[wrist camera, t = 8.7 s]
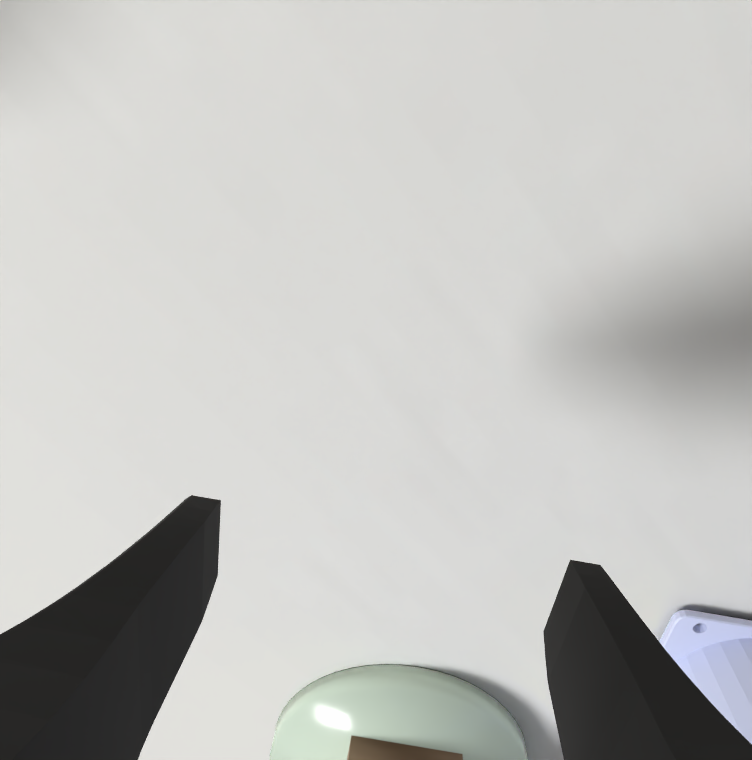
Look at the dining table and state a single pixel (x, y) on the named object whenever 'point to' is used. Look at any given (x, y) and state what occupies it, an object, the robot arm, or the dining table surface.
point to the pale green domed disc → (395, 716)
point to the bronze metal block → (394, 751)
